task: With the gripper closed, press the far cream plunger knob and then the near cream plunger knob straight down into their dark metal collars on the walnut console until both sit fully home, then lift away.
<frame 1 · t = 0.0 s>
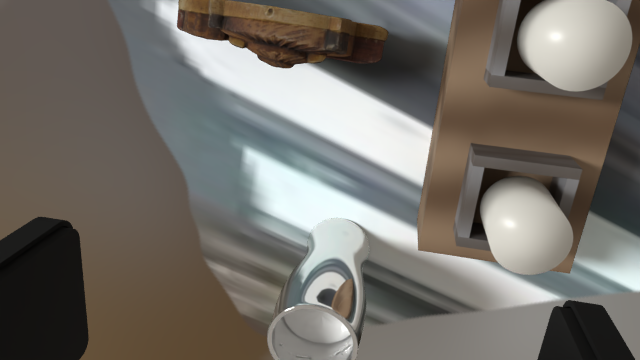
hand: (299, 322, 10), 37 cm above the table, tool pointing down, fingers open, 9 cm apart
beer glass: (338, 244, 51), on the table
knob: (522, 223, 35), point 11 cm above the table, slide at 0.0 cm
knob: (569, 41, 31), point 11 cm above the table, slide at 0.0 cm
console: (512, 100, 44), on the table
wooden carving: (292, 26, 45), on the table
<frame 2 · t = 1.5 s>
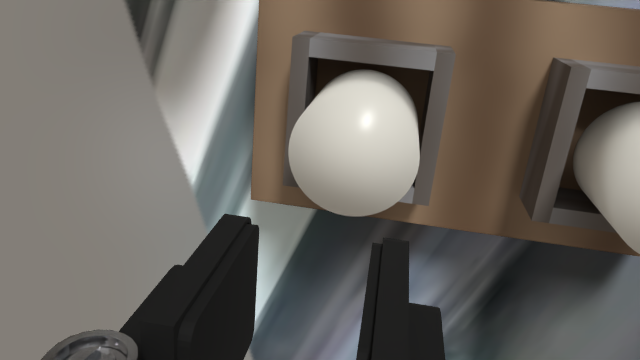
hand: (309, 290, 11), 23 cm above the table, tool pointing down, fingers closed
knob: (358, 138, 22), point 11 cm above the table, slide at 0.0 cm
console: (472, 99, 32), on the table
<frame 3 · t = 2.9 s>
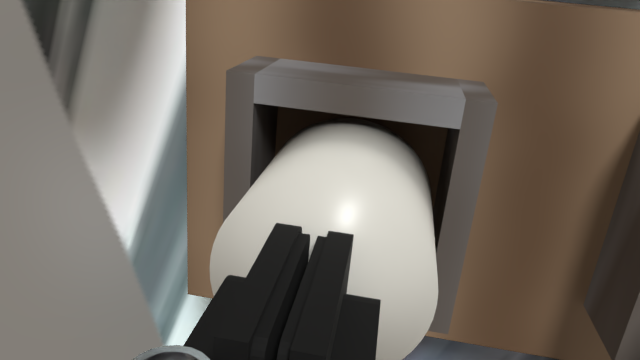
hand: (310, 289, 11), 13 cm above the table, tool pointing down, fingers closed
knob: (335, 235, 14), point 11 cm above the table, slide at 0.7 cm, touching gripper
console: (506, 146, 23), on the table
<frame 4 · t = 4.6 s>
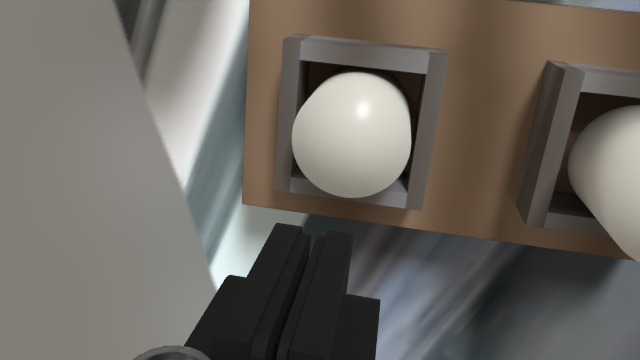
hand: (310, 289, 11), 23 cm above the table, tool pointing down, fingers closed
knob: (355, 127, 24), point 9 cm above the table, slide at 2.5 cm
console: (466, 102, 32), on the table
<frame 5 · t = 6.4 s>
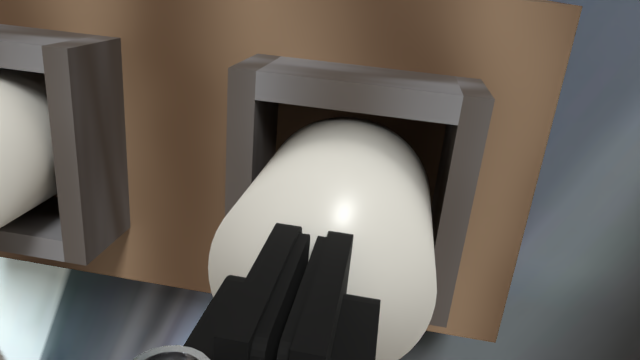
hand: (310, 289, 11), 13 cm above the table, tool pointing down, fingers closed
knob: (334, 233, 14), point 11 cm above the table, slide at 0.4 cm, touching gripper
console: (239, 109, 24), on the table
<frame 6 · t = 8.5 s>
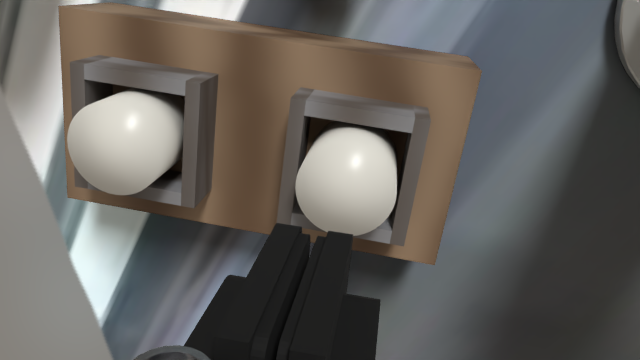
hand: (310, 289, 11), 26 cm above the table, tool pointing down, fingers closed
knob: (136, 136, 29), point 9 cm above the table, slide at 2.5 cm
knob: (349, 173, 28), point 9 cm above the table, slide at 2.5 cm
console: (275, 116, 37), on the table
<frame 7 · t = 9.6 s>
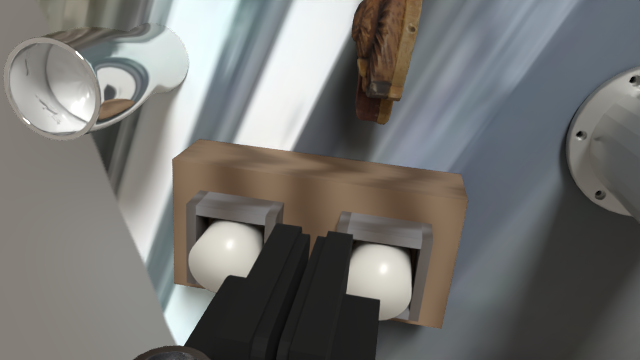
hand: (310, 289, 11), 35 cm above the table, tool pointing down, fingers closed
beer glass: (157, 57, 47), on the table
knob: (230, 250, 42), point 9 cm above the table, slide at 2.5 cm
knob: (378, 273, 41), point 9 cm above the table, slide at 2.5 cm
console: (320, 216, 50), on the table
wooden carving: (390, 10, 43), on the table
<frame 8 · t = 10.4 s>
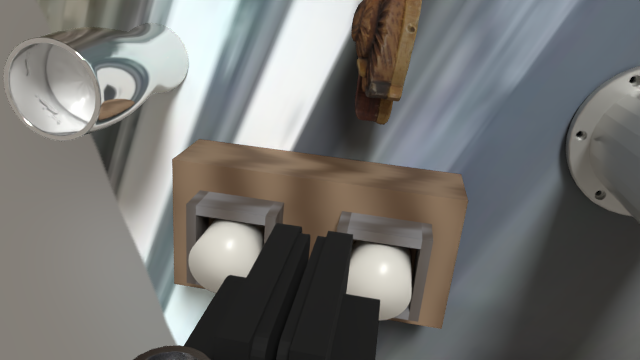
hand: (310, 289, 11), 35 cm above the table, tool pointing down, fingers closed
beer glass: (157, 57, 47), on the table
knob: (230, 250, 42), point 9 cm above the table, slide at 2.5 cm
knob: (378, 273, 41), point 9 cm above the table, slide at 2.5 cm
console: (320, 216, 50), on the table
wooden carving: (390, 10, 43), on the table
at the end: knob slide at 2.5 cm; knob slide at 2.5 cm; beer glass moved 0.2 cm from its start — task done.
